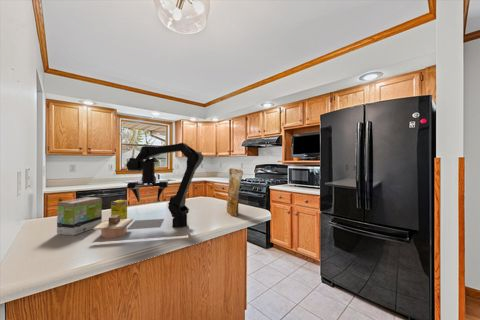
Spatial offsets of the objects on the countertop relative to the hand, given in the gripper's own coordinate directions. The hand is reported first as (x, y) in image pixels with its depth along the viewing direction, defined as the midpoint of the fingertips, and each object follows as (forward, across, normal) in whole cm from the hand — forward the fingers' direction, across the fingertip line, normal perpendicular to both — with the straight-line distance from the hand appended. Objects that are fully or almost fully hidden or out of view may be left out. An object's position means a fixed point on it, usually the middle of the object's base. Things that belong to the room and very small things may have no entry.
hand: (148, 201), depth 109 cm
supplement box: (+13, +18, -14) cm, 26 cm away
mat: (+12, +1, -1) cm, 13 cm away
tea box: (+13, +31, -1) cm, 34 cm away
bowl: (+12, +12, +12) cm, 21 cm away
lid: (+8, +12, +12) cm, 18 cm away
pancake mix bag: (+13, -47, -16) cm, 51 cm away
